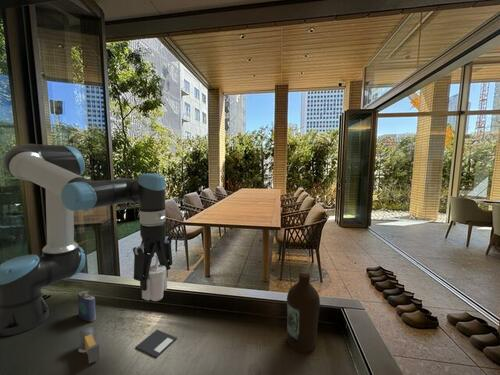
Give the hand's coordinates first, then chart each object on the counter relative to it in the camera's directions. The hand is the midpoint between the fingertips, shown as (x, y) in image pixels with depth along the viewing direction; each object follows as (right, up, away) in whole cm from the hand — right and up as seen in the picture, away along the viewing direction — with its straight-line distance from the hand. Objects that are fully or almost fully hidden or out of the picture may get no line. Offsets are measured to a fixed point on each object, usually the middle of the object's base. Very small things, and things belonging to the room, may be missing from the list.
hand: (155, 293), depth 80 cm
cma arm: (-19, -17, -3) cm, 26 cm away
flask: (-31, -15, +14) cm, 38 cm away
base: (-22, -17, 0) cm, 28 cm away
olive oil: (+48, -18, +4) cm, 51 cm away
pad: (0, -17, +2) cm, 17 cm away
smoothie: (+1, -2, 0) cm, 2 cm away
